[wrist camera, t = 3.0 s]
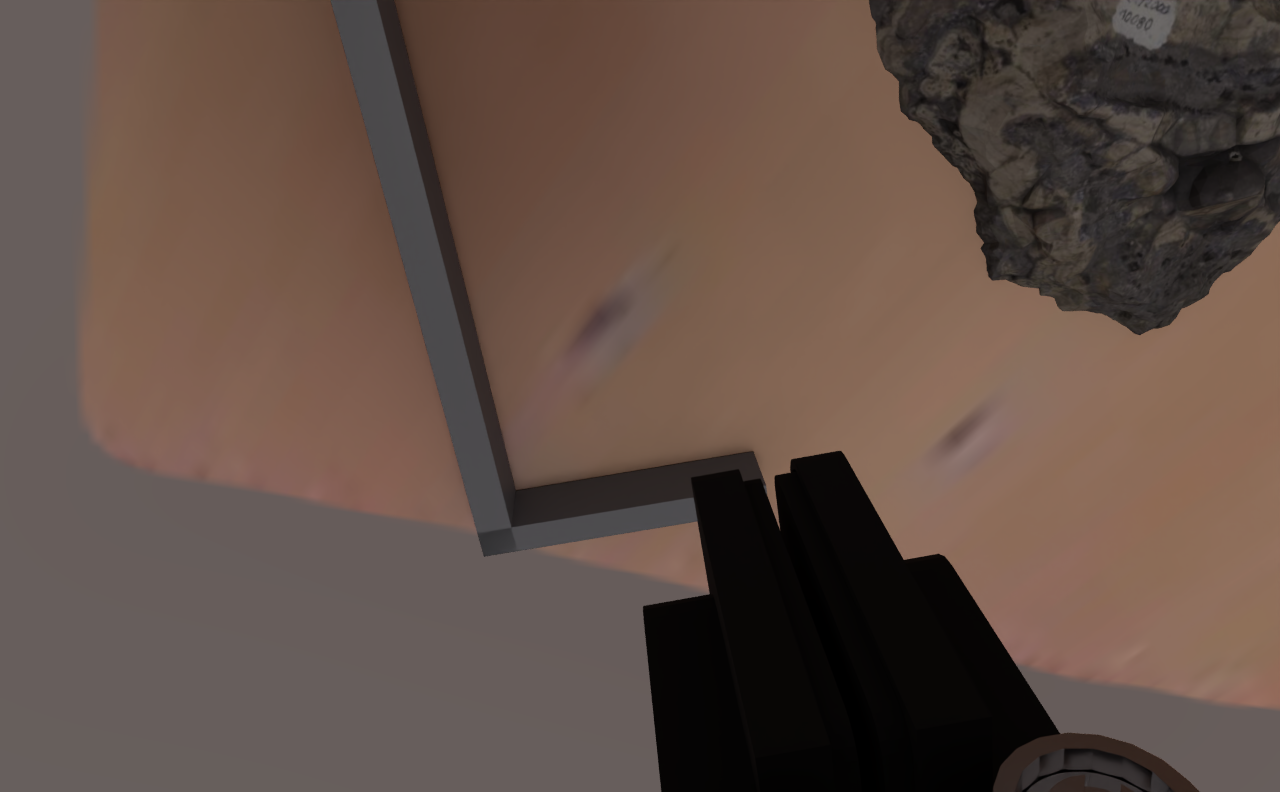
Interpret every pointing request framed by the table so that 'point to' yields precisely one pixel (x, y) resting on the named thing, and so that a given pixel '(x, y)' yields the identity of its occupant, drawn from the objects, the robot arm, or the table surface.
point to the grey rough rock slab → (1101, 138)
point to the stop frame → (452, 333)
